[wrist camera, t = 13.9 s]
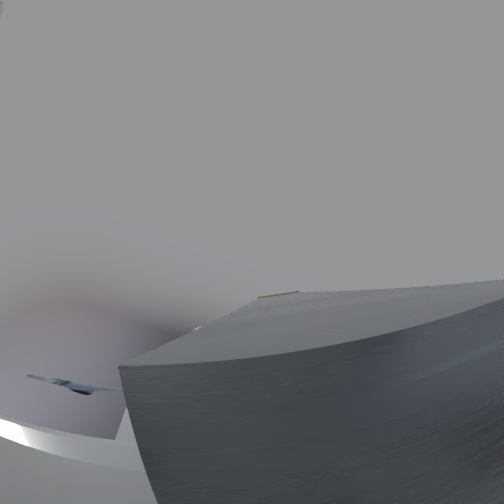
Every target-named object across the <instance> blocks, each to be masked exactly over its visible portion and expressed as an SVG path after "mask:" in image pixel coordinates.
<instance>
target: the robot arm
mask: <svg viewBox="0 0 504 504" xmlns="http://www.w3.org/2000/svg"><path fill="white" fill-rule="evenodd" d="M3 7H4V0H0V18H1V15H2V12H3ZM199 328H201V327H196V328H195V329H194V330H196V329H199ZM0 504H158V503H157V501H156V498H155V496H154V493H153V490H152V488H151V485H150V482H149V479H148V477H147V474H146V471H145V468H144V465H143V462H142V459H141V455H140V452H139V449H138V446H137V442H136V439H135V435H134V432H133V428H132V425H131V421H130V417H129V413H128V409H127V408H126V411H125V413H124V416H123V419H122V422H121V424H120V427H119V430H118V433H117V436H116V439H115V440H109V439H102V438H95V437H88V436H82V435H77V434H72V433H67V432H61V431H57V430H53V429H49V428H44V427H40V426H36V425H33V424H29V423H25V422H22V421H18V420H15V419H11V418H9V417H6V416H3V415H0Z"/></svg>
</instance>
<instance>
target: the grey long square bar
mask: <svg viewBox="0 0 504 504" xmlns="http://www.w3.org/2000/svg"><path fill="white" fill-rule="evenodd" d="M118 367H119V372H120V377H121V382H122V387H123V392H124V396H125V401H126V405H127V409H128V413H129V417H130V421H131V425H132V428H133V432H134V435H135V439H136V442H137V446H138V449H139V452H140V455H141V459H142V462H143V465H144V468H145V471H146V474H147V477H148V479H149V482H150V485H151V488H152V490H153V493H154V496H155V498H156V501H157V503H158V504H504V280H496V281H485V282H475V283H464V284H452V285H441V286H440V285H439V286H426V287H412V288H396V289H378V290H359V291H358V290H357V291H334V292H300V293H299V291H295V292H290V293H283V294H275V295H268V296H262V297H258V299H257V300H255V301H253V302H251V303H249V304H247V305H245V306H243V307H241V308H239V309H237V310H235V311H233V312H231V313H229V314H227V315H225V316H223V317H221V318H219V319H217V320H215V321H213V322H211V323H209V324H207V325H205V326H203V327H201V328H199V329H196V330H194V331H192V332H190V333H188V334H186V335H184V336H182V337H180V338H178V339H176V340H173V341H171V342H169V343H167V344H165V345H163V346H161V347H158V348H156V349H154V350H152V351H150V352H148V353H145V354H143V355H141V356H139V357H137V358H134V359H132V360H130V361H128V362H125V363H123V364H121V365H119V366H118Z"/></svg>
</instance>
